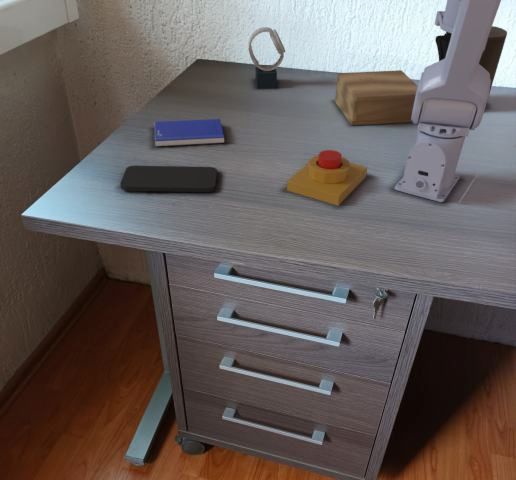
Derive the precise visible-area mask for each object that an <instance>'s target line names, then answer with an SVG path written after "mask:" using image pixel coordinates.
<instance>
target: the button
mask: <svg viewBox="0 0 516 480" xmlns="http://www.w3.org/2000/svg"><path fill="white" fill-rule="evenodd" d="M318 155H319V158H318V166H319V167H320V168H324V169H338V168H340V167H341V159H342V157H343V155H342V153H341V152H340V151H337V150H334V149H325V150H322V151H320V152H319V153H318Z"/></svg>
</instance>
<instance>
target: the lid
mask: <svg viewBox="0 0 516 480" xmlns="http://www.w3.org/2000/svg"><path fill="white" fill-rule="evenodd" d="M337 78H339V80H340V81H341V82H342V84H343V85H344V86H345V87H346V89H347V90H348V91H349V93H350V94H351V95H352V97H353V98H354V99H355V100H356V101H373V100H393V99H412V98H415V96H416V91H417V86H418V84H417V83H415V82H414V80H413V79H411V78H410V77H409V76H408V75H407V74H406V73H405V72H404V71H403V70H400V69H399V70H397V69H396V70H379V71H378V70H377V71H357V72H356V71H355V72H338V73H337Z"/></svg>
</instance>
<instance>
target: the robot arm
mask: <svg viewBox="0 0 516 480" xmlns="http://www.w3.org/2000/svg"><path fill="white" fill-rule="evenodd" d="M501 2H502V0H446V4H445V9H444V10H437V11H436V16H435V20H434V25H435V26H436V27H439V28H440V29H441V30H442V31H443V32H445V33H444V34H442V35H436V36H435V40H434V41H435V44H436V48H437V53H438V61H436V62H434V63H432V64H430V65H427V66H426V67H424V69H423V72H421V74H420V78H419V80H418V83H417V91H416V96H415V101H414V106H413V111H412V116H411V120H412V121H413V122H412V123H413V124H414V125H417V127H416V134H415V138H414V143H413V146H412V147H411V148H410V149H409V150H408V151H409V152H408V154H407V156H406V160H405V165H404V170H403V176H402V177H401V178H400V180H399V181H398V182H397V183H396V184H395V186H394V187H393V189H394V190H395V191H398V192H402V193H405V194H409V195H413V196H416V197H419V198H423V199H427V200H431V201H433V202H434V201H435V202H439V203H443V202H445V200H446V199H447V197H448V196H449V195H450V193H451V191H452V190H453V189H454V187H455V185H457V183H458V181H459V180H460V175H458V174H456V171H457V168H458V167H457V166H458V163H459V160H460V157H461V153H462V150H463V147H464V143H465V138H466V137H468V136H469V133H470V131H475V130H476V129H477V128H479V126H480V125H481V122H482V119H483V118H484V117H483V116H484V114H485V110H486V107H487V104H486V102H487V103H488V101H489V97H490V94H489V91H490V92H491V90H490V84H491V79H490V73H489V72H488V71H487V70H486V69H484V68H483V67H482V66H481V65H480V64H479V61H480V58H481V56H482V53H483V51H484V50H485V46H486V43H487V39H488V36H489V33H490V30H491V27H492V26H493V25H494V22H495V19H496V16H497V14H498V10H499V7H500V5H501ZM488 96H489V97H488Z"/></svg>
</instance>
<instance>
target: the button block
mask: <svg viewBox="0 0 516 480" xmlns="http://www.w3.org/2000/svg"><path fill="white" fill-rule="evenodd" d="M318 158H319V154H317V155H314V156H312V157H311V158H310V159H309V160H308V163H307V164H306V165H304V166H303V167H302V168H301V169H300V170H298V171H297V172H296V173H295V174H294V175H292V176H291V177H290V178H289V179H288V180H286V181H287V182H286V191H287V192H290V193H293V194H294V193H295V194H298V195H301V196H305V197H308V198H311V199H315V200H318V201H321V202H325V203H328V204H331V205H335V206H339V205H341V203H343V202H344V200H345V199H346V198H347V197H348V196H349V195H350V194H351V193H352V192H353V191H354V190H355V189H356V188H357V187H358V186H359V185H360V184H361V183H362V182H363V180H365V179H366V177H367V173H368V167H367V166H364V165H359V164H355V163H352V162H350V161H349V159H347V158H345V157H344V156H342V159H341V167H340V168H338V169H324V168H320V167H319V166H318Z"/></svg>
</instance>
